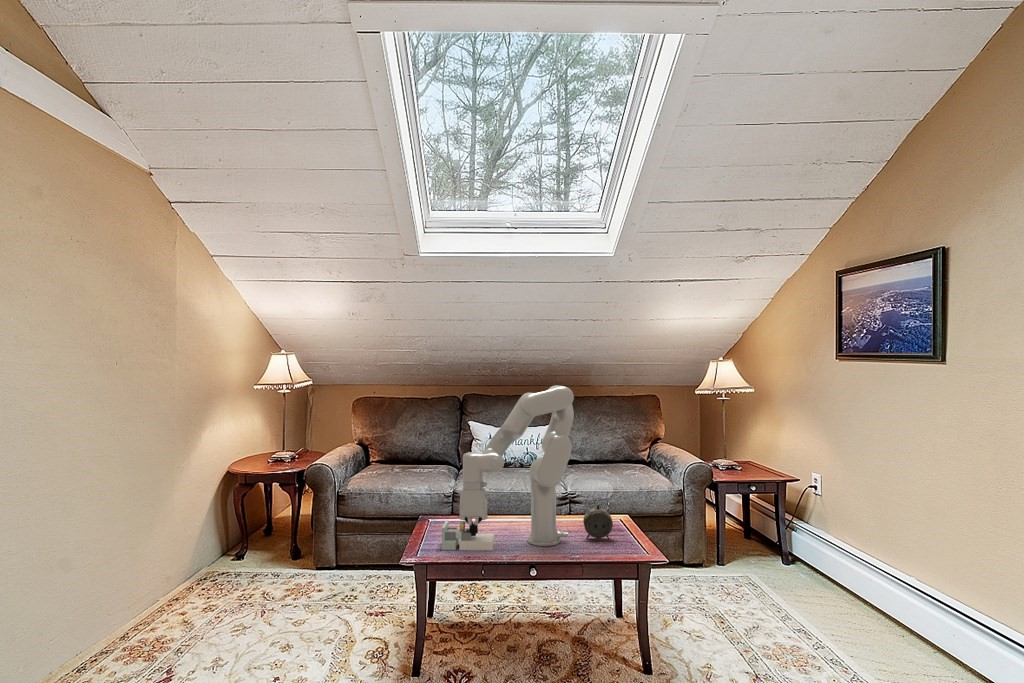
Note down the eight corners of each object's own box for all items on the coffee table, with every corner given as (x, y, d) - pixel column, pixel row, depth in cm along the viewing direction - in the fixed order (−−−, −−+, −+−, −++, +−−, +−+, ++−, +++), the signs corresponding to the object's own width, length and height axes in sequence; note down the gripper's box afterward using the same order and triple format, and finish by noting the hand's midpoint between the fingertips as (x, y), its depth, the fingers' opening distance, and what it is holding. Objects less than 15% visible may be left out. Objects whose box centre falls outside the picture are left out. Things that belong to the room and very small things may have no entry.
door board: (494, 541, 214) (494, 527, 214) (492, 550, 204) (492, 535, 204) (462, 541, 214) (462, 527, 215) (459, 550, 204) (459, 534, 205)
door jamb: (459, 541, 214) (458, 520, 215) (455, 550, 204) (455, 528, 205) (446, 541, 215) (446, 520, 215) (441, 550, 205) (441, 527, 205)
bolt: (466, 535, 211) (466, 520, 212) (465, 538, 207) (465, 523, 208) (448, 535, 212) (448, 520, 212) (446, 538, 208) (446, 523, 208)
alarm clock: (611, 538, 218) (611, 496, 218) (613, 542, 212) (612, 499, 213) (583, 537, 218) (583, 495, 219) (584, 542, 213) (584, 499, 214)
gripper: (493, 483, 214) (494, 532, 213) (454, 483, 214) (455, 532, 213) (492, 487, 206) (492, 538, 205) (451, 488, 207) (452, 538, 206)
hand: (473, 535), depth 209 cm, fingers closed
